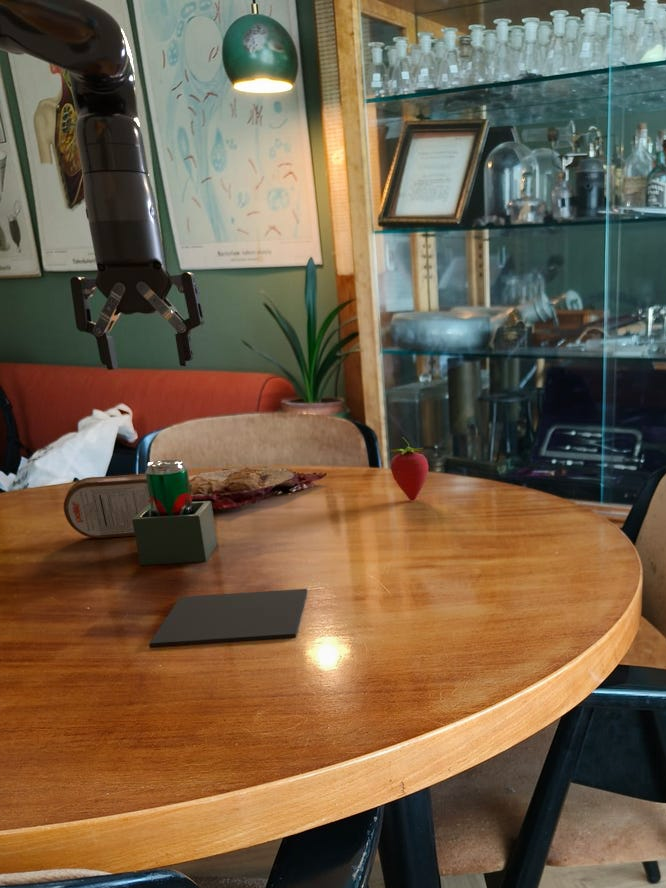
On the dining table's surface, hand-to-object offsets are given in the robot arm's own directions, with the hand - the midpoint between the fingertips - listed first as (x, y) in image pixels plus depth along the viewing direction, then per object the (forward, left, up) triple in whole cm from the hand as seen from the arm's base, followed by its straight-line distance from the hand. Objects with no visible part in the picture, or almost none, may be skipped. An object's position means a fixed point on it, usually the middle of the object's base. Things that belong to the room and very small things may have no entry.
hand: (148, 367), depth 107 cm
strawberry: (+31, +24, -24) cm, 46 cm away
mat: (+11, -26, -24) cm, 37 cm away
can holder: (0, 0, -24) cm, 24 cm away
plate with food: (0, +37, -24) cm, 44 cm away
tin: (-10, +12, -24) cm, 28 cm away
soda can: (0, 0, -24) cm, 24 cm away
